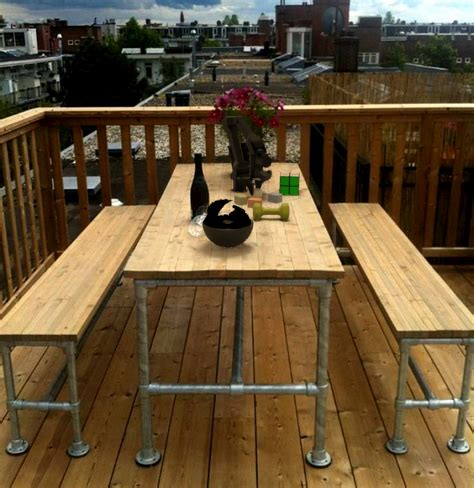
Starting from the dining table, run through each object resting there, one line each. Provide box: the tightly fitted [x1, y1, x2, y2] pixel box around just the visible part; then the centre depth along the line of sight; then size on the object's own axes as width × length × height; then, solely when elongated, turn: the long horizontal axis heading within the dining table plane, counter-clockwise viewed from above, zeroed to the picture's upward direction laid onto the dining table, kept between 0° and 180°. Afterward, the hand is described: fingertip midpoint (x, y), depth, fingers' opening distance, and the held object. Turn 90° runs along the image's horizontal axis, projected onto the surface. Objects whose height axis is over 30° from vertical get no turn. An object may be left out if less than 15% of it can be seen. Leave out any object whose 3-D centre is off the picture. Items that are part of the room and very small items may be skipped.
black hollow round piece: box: [201, 198, 255, 249], centre depth 245 cm, size 20×20×19 cm
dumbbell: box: [252, 202, 291, 221], centre depth 282 cm, size 16×8×7 cm, turn 90°
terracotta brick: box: [247, 197, 263, 209], centre depth 300 cm, size 6×4×4 cm, turn 72°
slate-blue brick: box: [267, 191, 283, 204], centre depth 310 cm, size 6×4×4 cm, turn 51°
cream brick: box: [247, 187, 263, 198], centre depth 318 cm, size 6×4×4 cm, turn 50°
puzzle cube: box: [278, 171, 301, 196], centre depth 324 cm, size 10×10×10 cm
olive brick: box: [233, 193, 248, 206], centre depth 306 cm, size 6×4×4 cm, turn 27°
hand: (254, 194), depth 318 cm, fingers closed on cream brick, 4 cm apart
